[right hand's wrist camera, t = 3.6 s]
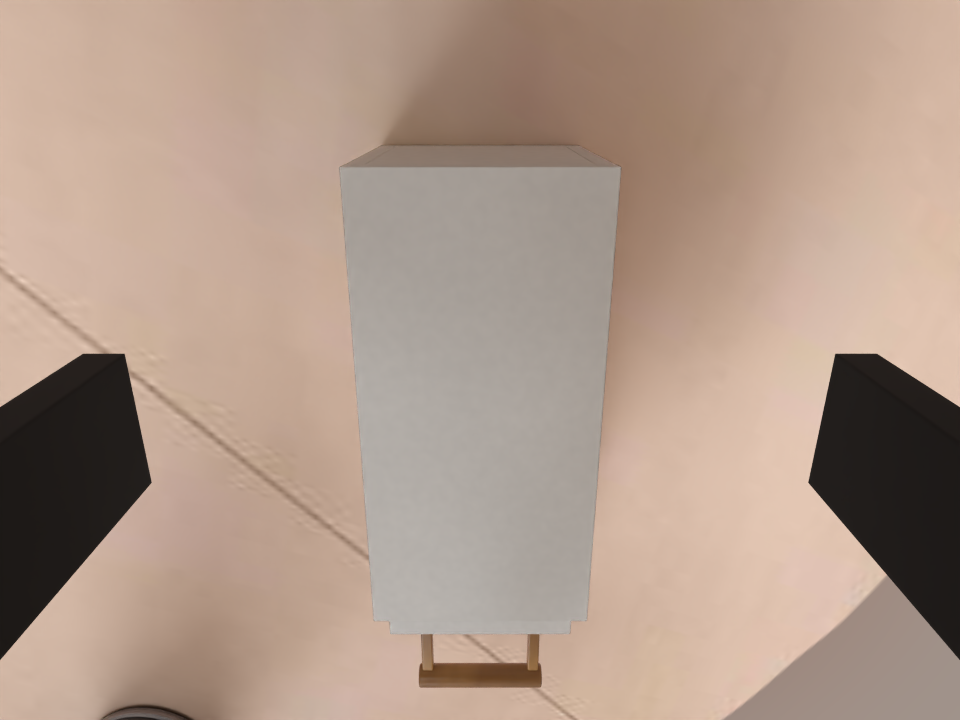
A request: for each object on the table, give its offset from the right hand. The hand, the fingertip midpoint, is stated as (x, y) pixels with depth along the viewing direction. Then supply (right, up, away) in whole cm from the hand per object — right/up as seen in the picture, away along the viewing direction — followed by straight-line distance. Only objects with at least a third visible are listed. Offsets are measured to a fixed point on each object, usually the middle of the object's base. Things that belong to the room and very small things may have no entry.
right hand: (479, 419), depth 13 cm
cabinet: (0, +2, +26) cm, 26 cm away
